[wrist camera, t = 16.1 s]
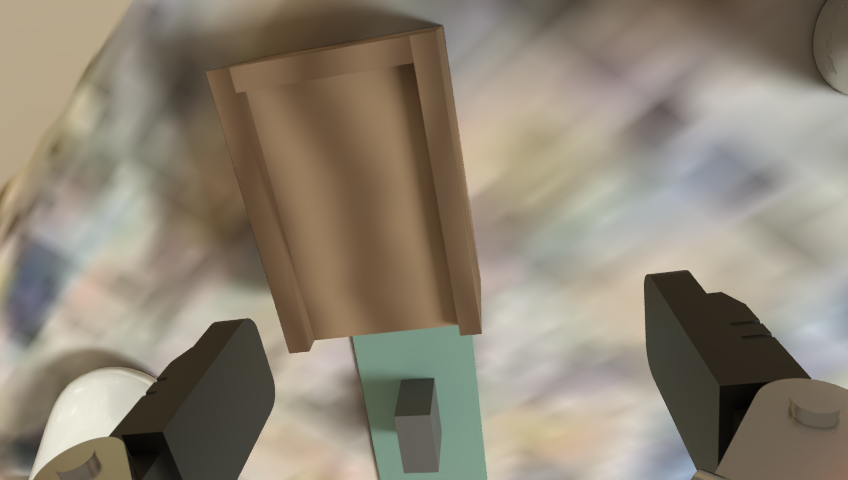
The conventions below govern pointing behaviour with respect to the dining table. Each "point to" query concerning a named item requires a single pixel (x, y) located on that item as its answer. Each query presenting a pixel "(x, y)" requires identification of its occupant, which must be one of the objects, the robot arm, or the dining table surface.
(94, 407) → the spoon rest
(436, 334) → the cover plate
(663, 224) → the dining table surface
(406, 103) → the lid box
